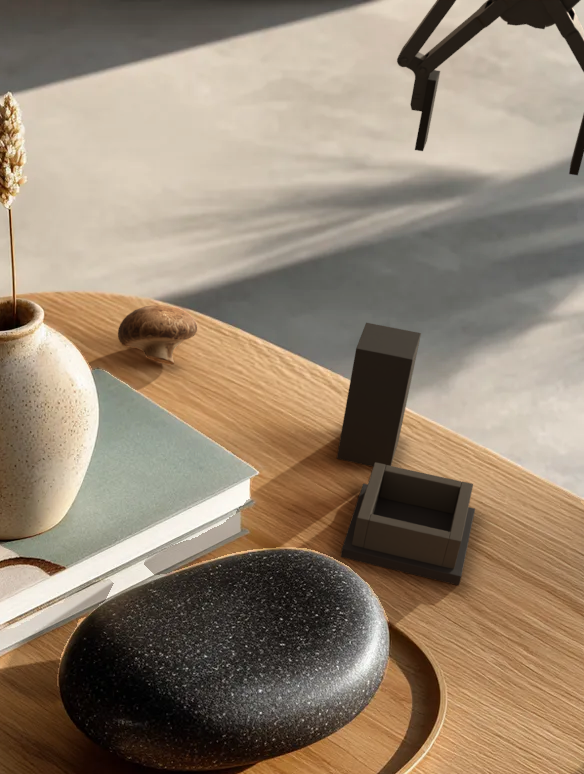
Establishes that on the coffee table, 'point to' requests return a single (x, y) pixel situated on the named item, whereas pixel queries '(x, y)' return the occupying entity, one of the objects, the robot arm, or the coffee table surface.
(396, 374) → the dark rectangular block
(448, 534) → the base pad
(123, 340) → the mushroom
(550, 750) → the coffee table surface
